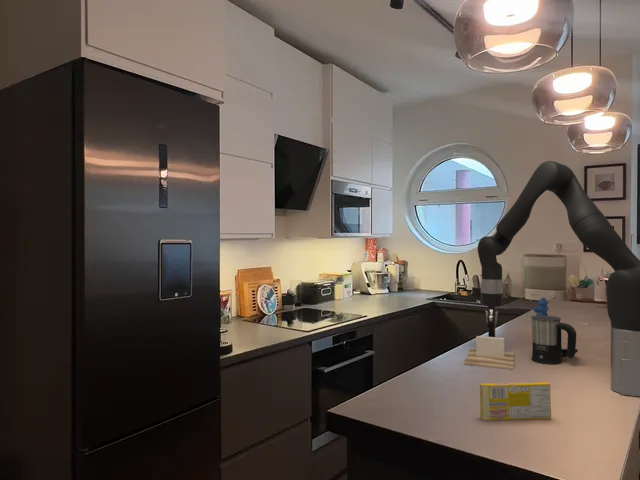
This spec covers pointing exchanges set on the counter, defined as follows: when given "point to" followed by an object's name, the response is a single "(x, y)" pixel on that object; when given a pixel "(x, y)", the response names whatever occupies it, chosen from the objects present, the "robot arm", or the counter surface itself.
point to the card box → (490, 347)
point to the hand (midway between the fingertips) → (491, 339)
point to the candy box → (515, 401)
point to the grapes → (541, 307)
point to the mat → (490, 360)
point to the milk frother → (551, 340)
